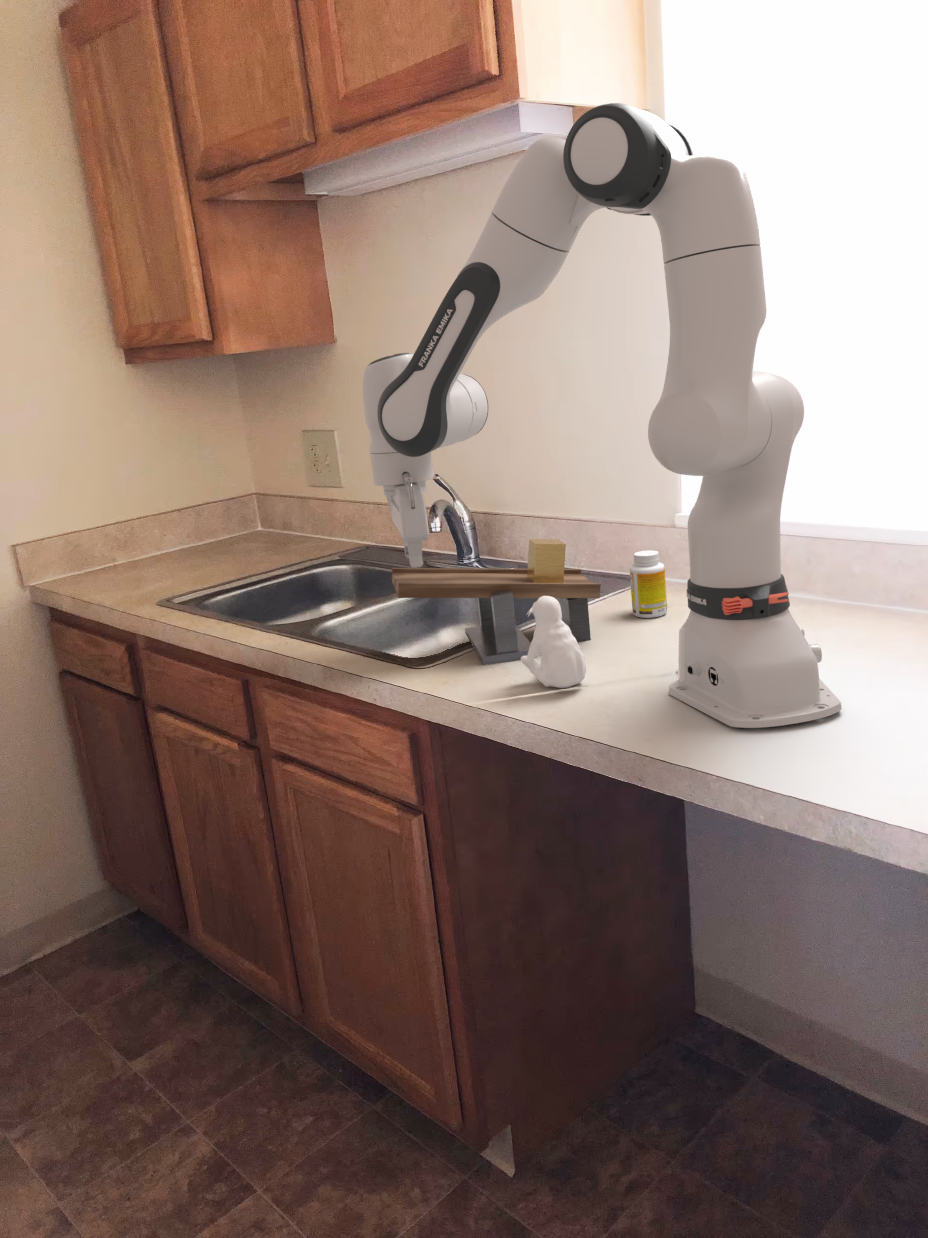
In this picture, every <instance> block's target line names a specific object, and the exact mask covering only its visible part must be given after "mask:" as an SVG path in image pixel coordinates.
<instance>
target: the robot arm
mask: <svg viewBox="0 0 928 1238" xmlns="http://www.w3.org/2000/svg"><path fill="white" fill-rule="evenodd" d="M751 191H752V190H751V188H750V184H749V181H748V177H747V174H746V172H745V168H744V167H743V165H742V164H741V162H740V161H739V160H738V159H737V158H735V156H734V157H733V156H732V155H729V154H726V153H722V152H713V151H712V152H711V151H707V152H702V153H698V154H694V152H693V150H692V147H691V145H690V143H689V141H688V140H687V138H686V137H685V136H684V134H683V133H682V131H680V130H679V129H677V128H676V127H675V126H673V125H671V124H669V123H667V122H665V121H664V120H663V119H662V118H660V117H659V116H658V115H656V114H654V113H652V112H650V111H647V110H644V109H640V108H637V107H634V106H632V105H629V104H626V103H622V102H621V103H620V102H614V103H606V104H605V103H604V104H601V105H597V106H595V107H593V108H590V109H588V111H585V113H583V114H582V115H581V116H580V117H579V118H578V119H577V120H576V121H575V122H574V124H573V125H572V126H571V128H570V130H569V131H568V134H567V136H566V139H564V138H559V137H543V138H539V139H538V140H535V141H533V143H532V144H530V145H529V147H528V148H526V150H525V152H524V153H523V154H522V156H521V158H520V159H519V160H518V162H517V164H516V165H515V167H514V168H513V170H512V172H511V174H510V175H509V177H508V179H507V180H506V182H505V184H504V185H503V187H502V189H501V191H500V193H499V195H498V197H497V199H496V201H495V203H494V206H493V207H492V210H491V213H490V215H489V217H488V219H487V221H486V223H485V225H484V227H483V230H482V232H481V234H480V236H479V237H478V240H477V242H476V243H475V246H474V248H473V250H472V252H471V254H470V255H469V257H468V259H467V261H466V262H465V264H464V265H463V267H462V269H461V270H460V272H459V273H458V274H457V276H456V278H455V279H454V281H453V282H452V284H451V286H450V287H449V289H448V290H447V293H446V294H445V296H444V297H443V299H442V301H441V303H440V304H439V306H438V308H437V310H436V312H435V314H434V316H433V317H432V320H431V321H430V323H429V325H428V327H427V329H426V331H425V333H424V335H423V337H422V338H421V340H420V342H419V343H418V346H417V347H416V349H415V351H414V354H413V353H410V352H401V353H394V354H393V355H386V356H383V357H381V358H380V357H379V358H378V359H376V360H373V361H370V363H369V364H367V366H366V367H365V369H364V371H363V376H362V398H363V408H364V409H363V411H364V417H365V425H366V427H367V428H368V431H369V434H370V435H369V436H370V445H369V455H370V461H371V463H370V465H371V471H372V478H373V480H372V481H373V484H374V485H375V486H379V487H382V489H383V495H384V496H386V501H387V505H388V508H389V509H388V510H389V513H390V516H391V520H392V522H393V524H394V526H395V527H396V529H397V531H398V533H399V534H400V536H401V539H402V544H403V547H404V548H403V549H404V556H405V557H406V559H408V560H409V565H410V568H422V566H423V565H424V561H423V541H427V540H429V537H430V531H429V522H428V515H427V509H426V502H425V495H424V492H426V491H427V489H428V488H427V481H430V480H432V479H434V477H435V476H434V475H435V473H434V468H433V459H432V452H433V451H436V450H437V449H441V448H443V447H448V446H451V445H455V444H456V443H460V442H464V441H467V440H469V439H471V438H473V437H474V436H476V435H477V434H479V433H480V432H481V430H482V429H483V428H484V426H485V425H486V422H487V420H488V416H489V401H488V397H487V393H486V391H485V389H484V387H483V386H482V385H481V384H480V382H478V380H477V379H475V378H474V377H472V376H470V375H468V374H465V373H464V374H463V373H462V370H463V369H464V367H465V365H466V363H467V362H468V359H469V357H470V356H471V354H472V352H473V350H474V349H475V347H476V345H477V343H478V341H479V340H480V338H482V336H483V335H484V333H485V332H486V331H487V330H488V329H489V328H491V327H492V326H493V324H495V323H497V321H499V320H500V319H502V318H503V317H505V316H507V315H508V314H510V313H512V312H513V311H516V310H518V309H519V308H522V307H523V306H526V305H528V304H530V303H531V302H533V301H536V300H537V299H538V298H539V299H540V297H541V296H542V295H543V294H544V293H545V292H546V291H547V289H548V288H549V287H550V285H551V284H552V282H553V281H554V280H555V278H556V277H557V275H558V274H559V272H560V270H561V269H562V267H563V265H564V263H565V261H566V259H567V257H568V255H569V252H570V250H571V249H572V247H573V245H574V242H575V240H576V238H577V236H578V234H579V231H580V230H581V228H582V227H583V225H584V223H585V222H586V220H587V219H588V218H590V216H591V215H592V214H593V213H594V212H596V211H599V210H601V209H605V208H606V209H607V210H610V211H613V212H617V213H619V214H627V215H634V216H642V217H643V216H647V217H648V216H651V217H652V218H653V219H654V221H655V223H656V225H657V229H658V231H659V235H660V242H661V249H662V259H663V267H664V268H663V270H664V279H665V286H666V298H667V299H666V300H667V307H668V308H667V309H668V318H669V319H668V320H669V348H668V356H667V357H668V358H667V363H666V364H667V365H666V371H665V378H664V383H663V387H662V392H661V395H660V397H659V400H658V402H657V404H656V405H655V407H654V409H653V411H652V413H651V414H650V418H649V420H648V425H647V428H648V429H647V438H648V443H649V447H650V449H651V451H652V454H653V455H654V458H655V459H656V460H657V461H658V463H660V465H661V466H662V467H664V468H665V469H666V470H668V471H670V472H672V473H675V474H678V475H684V476H692V477H695V476H696V477H702V479H701V485H700V489H699V492H698V495H697V499H696V500H695V504H694V505H693V508H692V509H691V510H690V513H689V516H688V520H687V539H688V556H689V557H688V558H689V559H688V560H689V561H688V562H689V576H690V578H688V580H687V582H686V583H687V585H686V587H687V588H686V597H687V607H688V609H689V610H690V612H689V614H688V616H687V618H686V620H685V622H684V623H683V625H682V626H681V627H680V628H679V630H678V631H679V632H678V673H677V674H678V679H677V680H676V681H674V682H672V683H671V684H669V686H668V694H669V695H670V696H671V697H673V698H676V699H678V700H679V701H681V702H683V703H685V704H687V705H689V706H690V707H693V708H695V709H696V710H698V711H700V712H702V713H704V714H706V715H708V716H710V717H711V718H713V719H715V720H717V721H719V722H721V723H723V724H725V725H727V726H729V727H731V728H741V729H742V728H744V729H755V728H757V729H758V728H760V729H761V728H770V727H779V726H780V727H781V726H787V725H788V726H789V725H794V724H799V723H800V724H801V723H806V722H811V721H816V720H819V719H823V718H826V717H830V716H832V715H834V714H837V713H838V712H840V711H841V710H842V709H843V708H842V702H841V701H840V699H839V698H838V697H837V696H836V695H835V694H834V693H833V691H832V690H831V689H830V688H829V687H828V685H826V684H825V683H824V682H823V680H821V678H820V674H819V672H820V671H819V665H818V663H820V662H821V661H822V659H823V658H822V657H823V653H822V648H821V646H820V644H817V643H814V644H813V643H812V644H809V642H808V641H807V639H806V637H805V630H804V628H803V627H800V626H799V625H798V623H797V622H796V620H795V619H794V617H793V615H792V613H791V612H790V609H789V608H790V606H791V603H790V597H789V594H790V593H789V590H788V586H787V584H786V578H785V576H784V575H783V573H782V563H781V562H782V560H781V559H782V558H781V556H782V555H781V551H782V550H781V513H782V512H781V511H782V502H783V496H784V490H785V484H786V479H787V474H788V468H789V465H790V460H791V454H792V449H793V446H794V442H795V440H796V437H797V435H798V433H799V432H800V430H801V428H802V425H803V422H804V417H805V407H804V406H805V405H804V400H803V398H802V396H801V393H800V392H799V390H798V388H797V387H796V386H795V385H794V384H793V383H792V382H791V381H789V380H788V379H786V378H784V377H782V376H779V375H776V374H773V373H768V372H764V371H759V370H757V371H754V362H755V353H756V346H757V342H758V337H759V334H760V331H761V330H762V328H763V325H764V324H765V322H766V318H767V301H766V300H767V299H766V291H765V280H764V270H763V259H762V248H761V241H760V240H761V239H760V232H759V225H758V218H757V214H756V208H755V203H754V199H753V195H752V192H751Z"/></svg>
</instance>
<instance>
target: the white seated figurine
mask: <svg viewBox="0 0 928 1238" xmlns="http://www.w3.org/2000/svg"><path fill="white" fill-rule="evenodd" d="M531 614H532V615H533V616H534V619H535V629H534V631H533V637H532V639H531V641H530V643H531V644H530V647H529V651H528V655H527V656H522V657H521V660H520V662H521V664H523V665H524V666H525V667H526V668H527V669H529V672H530V673H531V674H532V675H533V677H535V678H536V680H537V681H539V682H540V683H541V684H542V685H543V686H544V687H547V688H548V687H553V688H558V689H565V688H571V687H573V686H574V685H577V684H580V683H581V682H582V681H583V680H584V679H585V678H586V671H587V667H586V661H585V660H586V659H585V655H584V653H583V652H582V649H581V647H580V645H579V642H577V640H576V639H575V637H574V636H573V635H572V632H571V630H570V628H569V627H568V626H567V625H566V624H565V623H564V622H563V621H562V612H561V607H560V604H559V602H558V601H557V600H556V598H554V597H551V596H542V597H540V598H537V600H536V601H535V602H533V604H532V606H531V608H530V609H529V610H528V611H527V613H526V615H525V616H527V615H528V616H527V618H529V616H531ZM538 655H540V656H541V659H540V661H538V660H537V659H536V658H537V657H538Z"/></svg>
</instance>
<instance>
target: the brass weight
mask: <svg viewBox="0 0 928 1238" xmlns="http://www.w3.org/2000/svg"><path fill="white" fill-rule="evenodd" d="M527 553H528V555H527V556H528V557H527V569H528V571H527V578H528V579H530V580H531V581H532V582H533V583H563V581H564V569H565V562H566V543H565V542H564V541H561V540H560V539H559V538H558V539H557V538H555V539H554V538H529V539H528V552H527Z"/></svg>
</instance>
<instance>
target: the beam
mask: <svg viewBox="0 0 928 1238" xmlns="http://www.w3.org/2000/svg"><path fill="white" fill-rule="evenodd" d="M527 571H528V568H503V567H502V568H491V567H490V568H488V567H487V568H486V567H484V568H483V567H482V568H481V567H480V568H479V567H478V568H477V567H475V568H474V567H473V568H468V567H462V568H461V567H460V568H459V567H457V568H456V567H450V568H449V567H415V568H413V567H392V568H391V582H392V585H393V588H394V590H395V592H396V596H397V597H398V599H477V598H491V593H498V592H505V591H511V592H512V593H513V599H539V598H540V597H542V596H551V597H554V598H555V599H556V598H587V599H600V597H601V583H599V582H593V581H592V580H590V579H588V578H587V577H586V576H584V574H582V570H581V569H580V568H564V581H563V583H533V582H532V581H531V580H530V579H528V578H527Z"/></svg>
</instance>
